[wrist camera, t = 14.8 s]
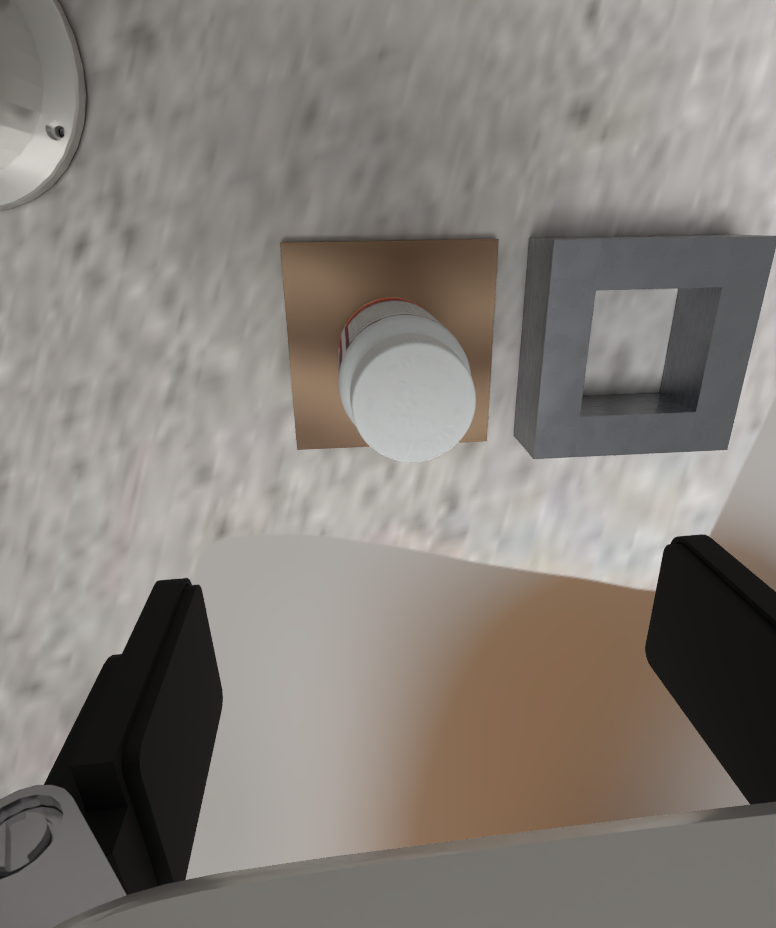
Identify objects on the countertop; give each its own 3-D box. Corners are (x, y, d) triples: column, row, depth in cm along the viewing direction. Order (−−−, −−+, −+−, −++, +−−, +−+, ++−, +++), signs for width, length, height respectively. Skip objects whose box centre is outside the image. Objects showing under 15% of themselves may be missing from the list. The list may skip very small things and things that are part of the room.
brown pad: (281, 242, 31) (280, 242, 30) (494, 238, 32) (498, 239, 31) (298, 445, 36) (297, 449, 35) (483, 437, 37) (486, 441, 36)
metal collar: (529, 238, 32) (554, 240, 28) (729, 234, 33) (778, 235, 29) (513, 435, 37) (533, 458, 33) (689, 427, 38) (727, 449, 34)
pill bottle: (410, 416, 35) (442, 498, 25) (319, 371, 33) (312, 439, 23) (461, 326, 33) (518, 374, 23) (368, 274, 31) (383, 300, 21)
